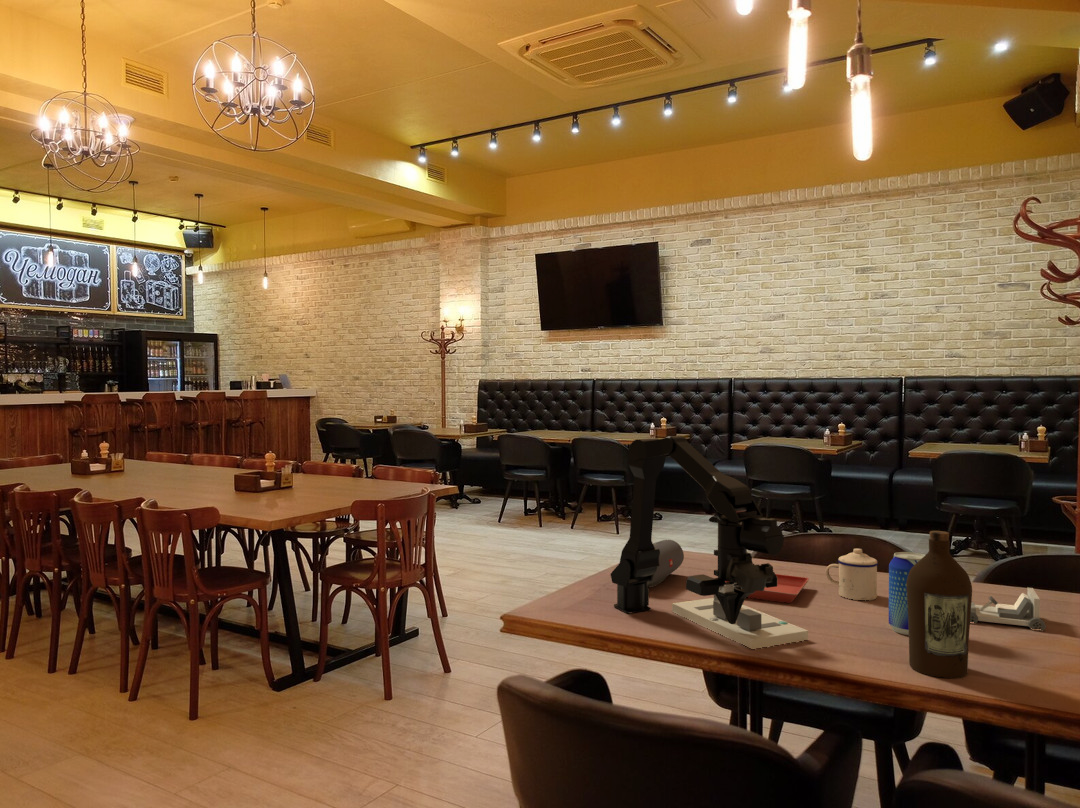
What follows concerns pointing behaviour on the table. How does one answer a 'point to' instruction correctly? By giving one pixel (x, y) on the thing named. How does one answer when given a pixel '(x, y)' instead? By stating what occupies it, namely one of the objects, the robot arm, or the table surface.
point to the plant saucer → (782, 589)
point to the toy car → (1011, 611)
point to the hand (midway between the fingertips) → (732, 623)
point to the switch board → (768, 635)
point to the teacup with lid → (856, 576)
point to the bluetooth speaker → (666, 560)
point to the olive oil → (939, 612)
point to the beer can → (900, 589)
